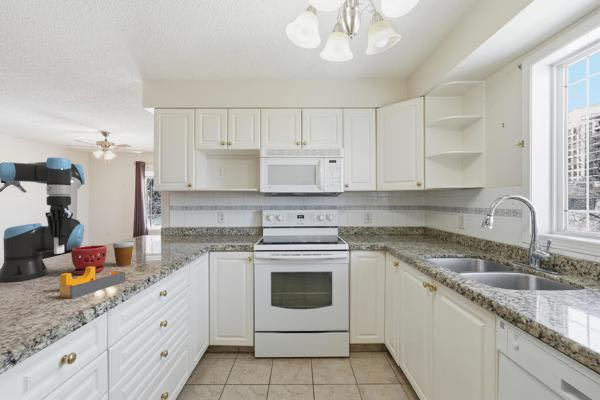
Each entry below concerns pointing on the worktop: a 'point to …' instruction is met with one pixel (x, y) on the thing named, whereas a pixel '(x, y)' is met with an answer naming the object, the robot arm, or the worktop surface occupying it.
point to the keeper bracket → (92, 285)
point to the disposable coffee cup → (123, 252)
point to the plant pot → (88, 258)
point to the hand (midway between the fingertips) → (59, 253)
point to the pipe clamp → (88, 276)
